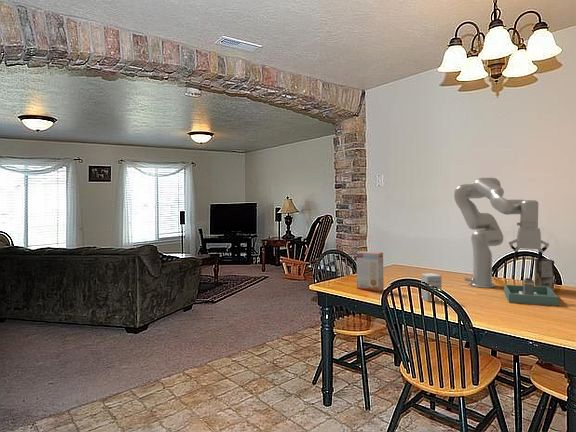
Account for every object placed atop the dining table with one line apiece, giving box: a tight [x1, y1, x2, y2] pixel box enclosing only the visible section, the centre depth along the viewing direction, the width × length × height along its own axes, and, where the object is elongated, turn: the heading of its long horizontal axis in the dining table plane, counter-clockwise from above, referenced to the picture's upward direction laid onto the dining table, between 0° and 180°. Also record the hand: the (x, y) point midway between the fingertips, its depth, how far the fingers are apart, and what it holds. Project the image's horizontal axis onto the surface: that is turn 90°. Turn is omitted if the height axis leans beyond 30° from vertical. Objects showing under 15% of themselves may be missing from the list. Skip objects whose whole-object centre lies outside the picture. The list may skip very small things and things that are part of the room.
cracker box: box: [356, 250, 385, 292], centre depth 227 cm, size 14×6×21 cm, turn 47°
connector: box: [522, 277, 535, 295], centre depth 203 cm, size 4×4×9 cm
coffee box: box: [534, 258, 555, 292], centre depth 220 cm, size 9×6×16 cm
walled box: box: [503, 284, 559, 307], centre depth 201 cm, size 20×22×4 cm
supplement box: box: [421, 272, 443, 302], centre depth 202 cm, size 7×7×13 cm
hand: (528, 259), depth 202 cm, fingers open, 9 cm apart
